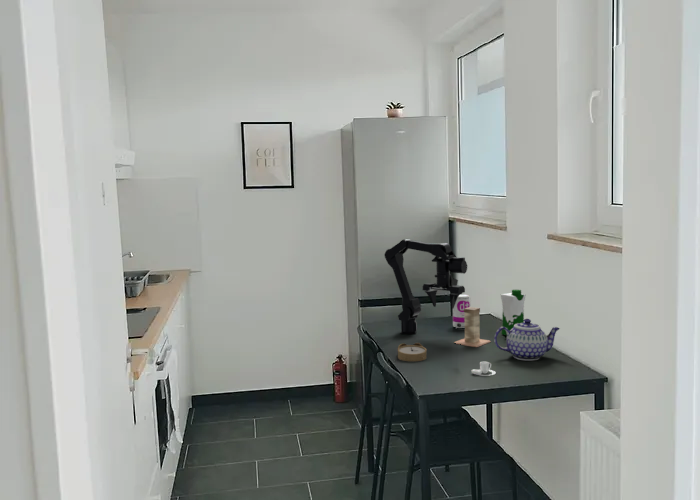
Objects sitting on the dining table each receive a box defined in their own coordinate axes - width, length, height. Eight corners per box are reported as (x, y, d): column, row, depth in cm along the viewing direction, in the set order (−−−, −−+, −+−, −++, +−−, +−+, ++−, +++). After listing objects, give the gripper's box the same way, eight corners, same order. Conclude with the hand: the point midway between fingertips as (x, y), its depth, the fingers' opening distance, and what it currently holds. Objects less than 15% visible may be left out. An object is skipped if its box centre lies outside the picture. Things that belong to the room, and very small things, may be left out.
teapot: (497, 363, 247) (497, 323, 246) (490, 352, 262) (490, 315, 261) (565, 362, 246) (566, 322, 245) (554, 351, 262) (554, 314, 260)
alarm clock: (399, 355, 251) (394, 339, 266) (399, 367, 253) (394, 350, 267) (429, 354, 252) (422, 338, 266) (428, 366, 253) (422, 349, 268)
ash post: (464, 341, 279) (463, 308, 278) (470, 339, 282) (469, 306, 281) (474, 343, 276) (473, 309, 274) (480, 340, 279) (479, 308, 278)
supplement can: (472, 329, 305) (471, 296, 303) (454, 329, 305) (453, 297, 304) (469, 325, 313) (469, 293, 312) (451, 325, 313) (451, 294, 312)
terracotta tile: (453, 343, 279) (453, 342, 279) (468, 338, 287) (468, 337, 287) (476, 347, 271) (476, 345, 271) (490, 342, 279) (490, 340, 279)
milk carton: (513, 337, 286) (513, 292, 284) (498, 334, 293) (498, 289, 291) (527, 335, 290) (527, 289, 288) (512, 331, 298) (512, 287, 296)
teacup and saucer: (472, 377, 232) (472, 365, 231) (469, 370, 240) (469, 359, 239) (497, 376, 231) (497, 365, 231) (493, 370, 239) (493, 359, 239)
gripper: (471, 271, 288) (471, 307, 289) (435, 268, 300) (436, 302, 302) (457, 274, 279) (457, 311, 281) (421, 271, 292) (421, 306, 293)
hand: (443, 307), depth 289 cm, fingers open, 9 cm apart
